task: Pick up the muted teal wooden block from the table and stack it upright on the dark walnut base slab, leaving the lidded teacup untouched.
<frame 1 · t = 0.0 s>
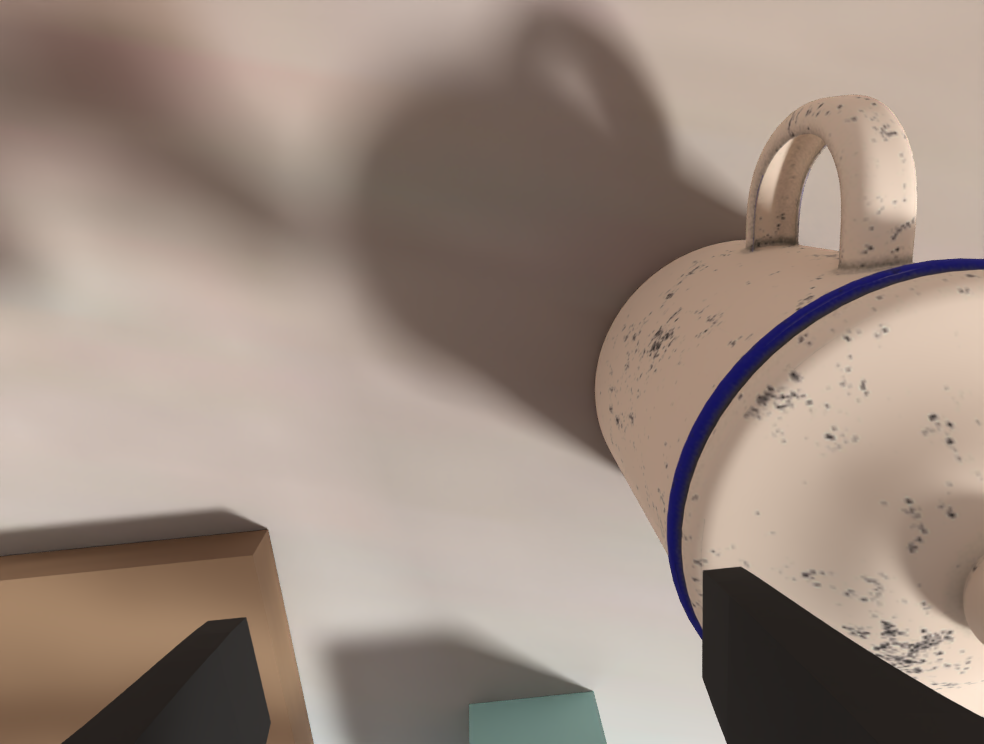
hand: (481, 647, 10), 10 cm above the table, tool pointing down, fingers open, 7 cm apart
walnut slab: (128, 699, 22), on the table
teacup with lid: (726, 332, 19), on the table
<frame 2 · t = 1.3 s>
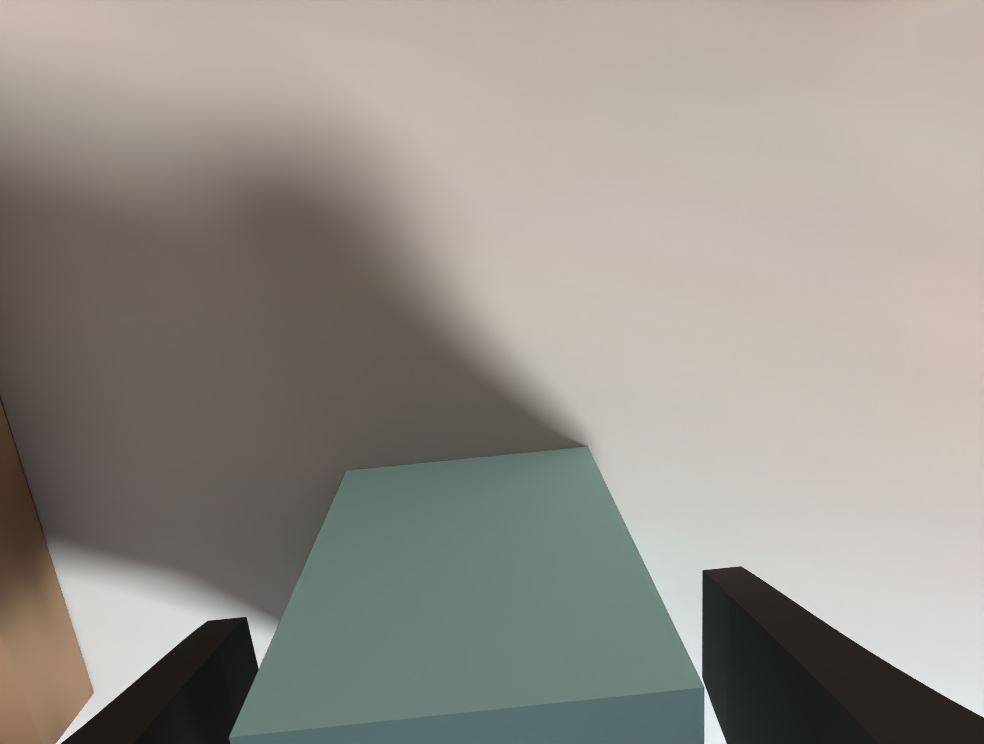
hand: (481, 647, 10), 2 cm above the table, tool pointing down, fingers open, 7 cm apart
teal block: (478, 563, 12), on the table
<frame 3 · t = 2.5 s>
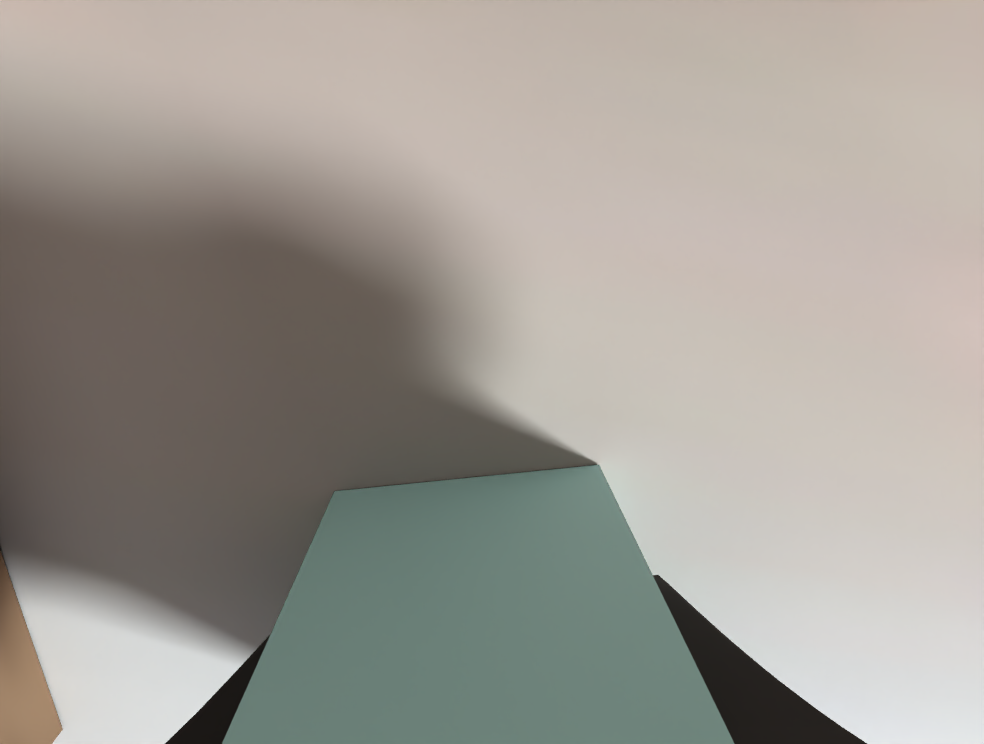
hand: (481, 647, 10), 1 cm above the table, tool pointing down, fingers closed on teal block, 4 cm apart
teal block: (479, 592, 11), on the table, touching gripper
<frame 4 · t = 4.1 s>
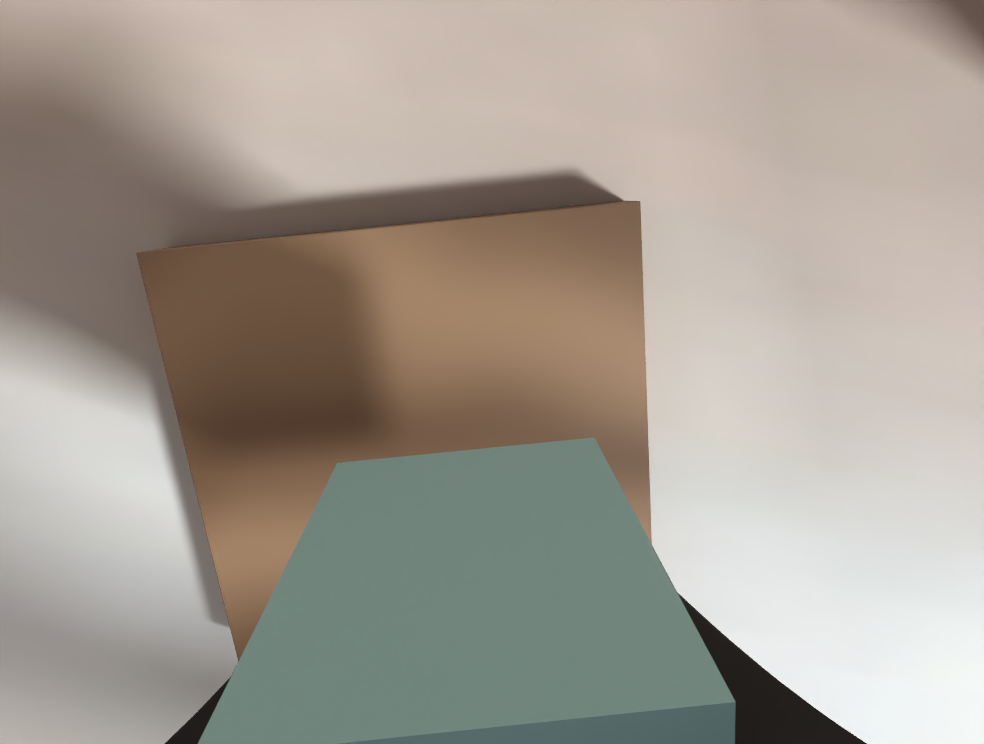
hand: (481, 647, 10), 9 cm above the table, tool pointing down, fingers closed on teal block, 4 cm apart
walnut slab: (425, 438, 18), on the table
teal block: (478, 563, 12), point 7 cm above the table, touching gripper
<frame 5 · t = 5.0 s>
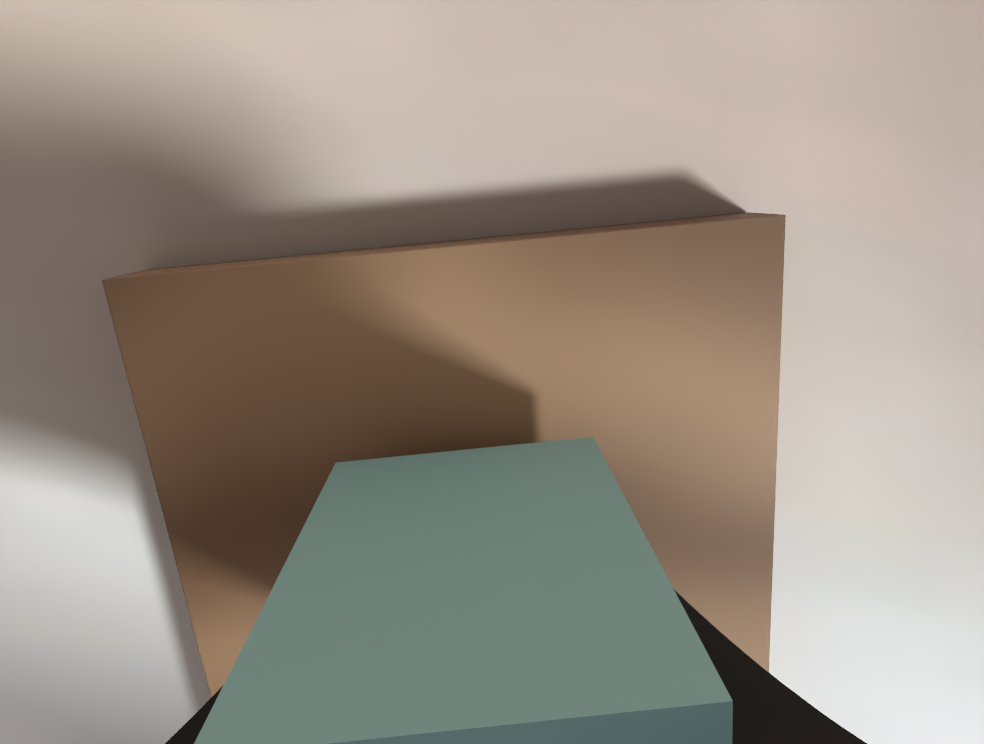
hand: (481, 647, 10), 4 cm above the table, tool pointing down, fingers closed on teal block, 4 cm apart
walnut slab: (477, 512, 14), on the table
teal block: (477, 563, 12), point 3 cm above the table, touching gripper
when the fingers open (4 cm above the table, at t = 5.9 s): teal block stays where it is, resting on walnut slab.
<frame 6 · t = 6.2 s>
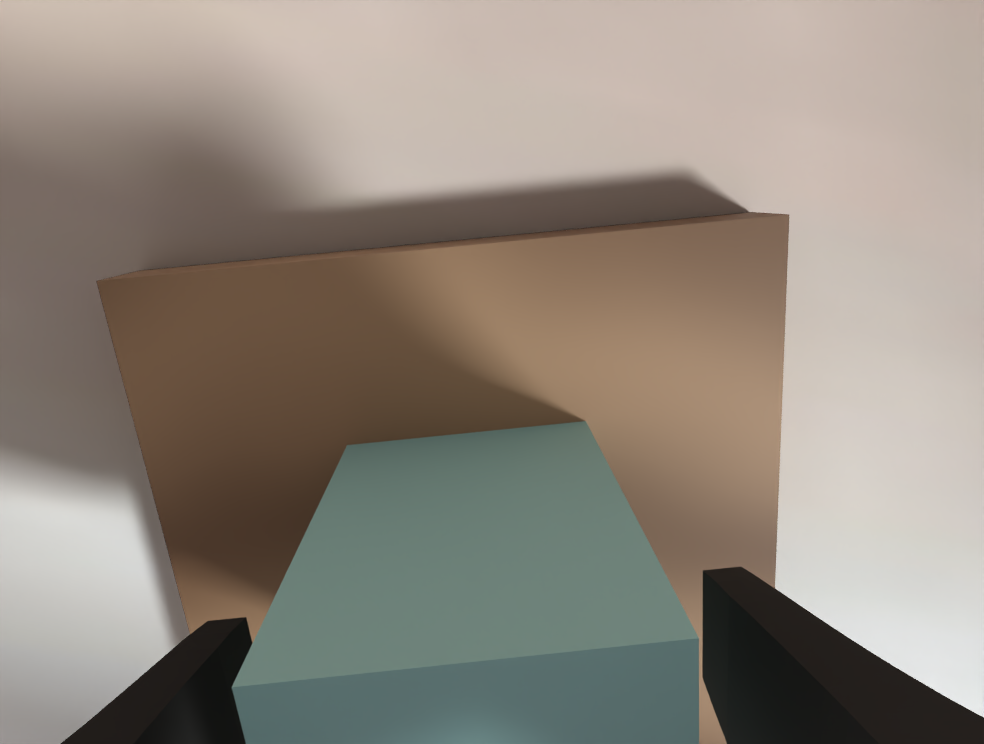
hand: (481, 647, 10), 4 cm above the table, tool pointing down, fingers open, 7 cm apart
walnut slab: (477, 515, 14), on the table
teal block: (478, 539, 12), point 1 cm above the table, touching walnut slab
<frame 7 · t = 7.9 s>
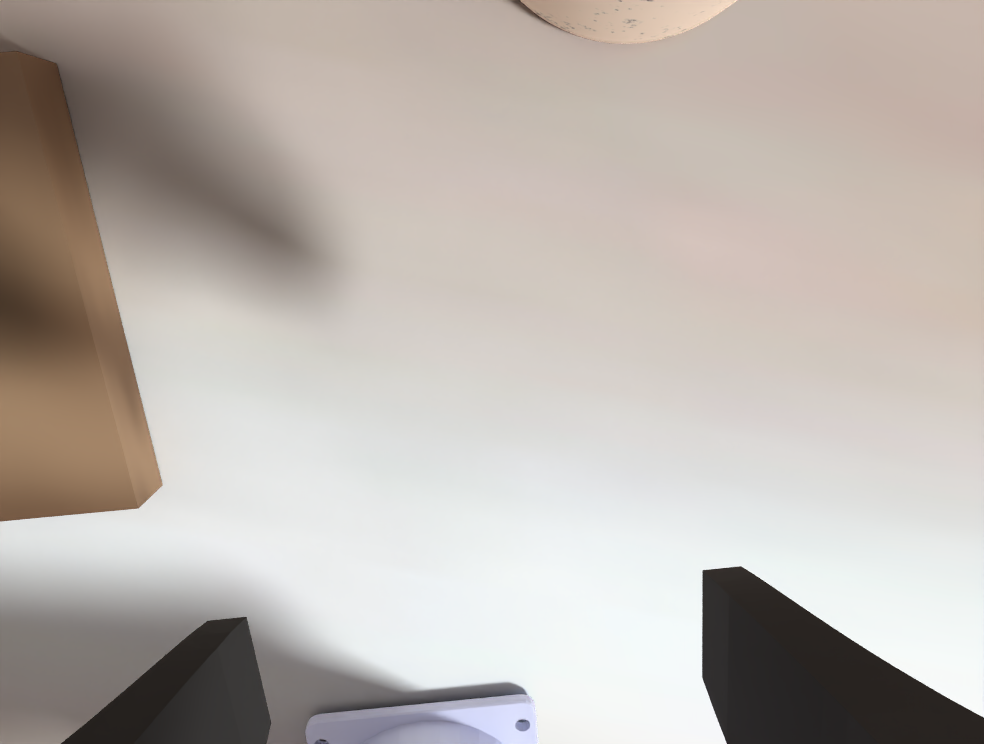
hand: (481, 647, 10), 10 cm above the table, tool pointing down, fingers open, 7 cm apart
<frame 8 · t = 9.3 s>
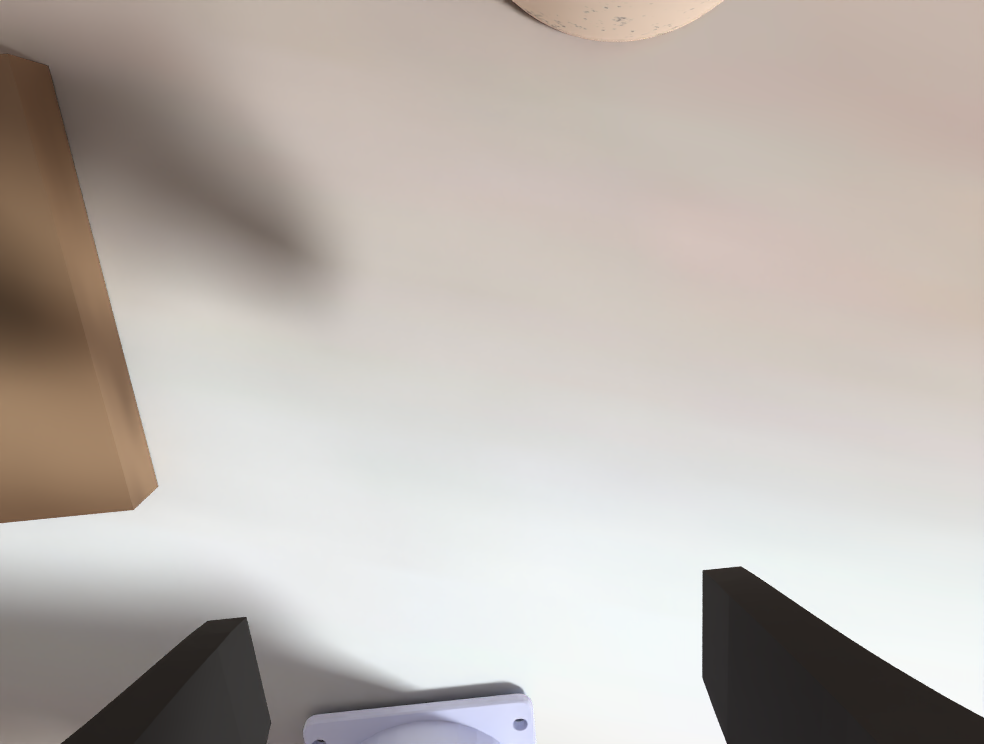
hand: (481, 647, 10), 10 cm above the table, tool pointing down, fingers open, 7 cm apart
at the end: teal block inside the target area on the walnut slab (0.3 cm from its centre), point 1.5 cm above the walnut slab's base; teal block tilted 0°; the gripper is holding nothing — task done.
